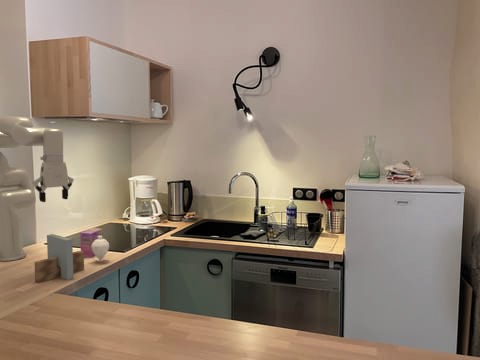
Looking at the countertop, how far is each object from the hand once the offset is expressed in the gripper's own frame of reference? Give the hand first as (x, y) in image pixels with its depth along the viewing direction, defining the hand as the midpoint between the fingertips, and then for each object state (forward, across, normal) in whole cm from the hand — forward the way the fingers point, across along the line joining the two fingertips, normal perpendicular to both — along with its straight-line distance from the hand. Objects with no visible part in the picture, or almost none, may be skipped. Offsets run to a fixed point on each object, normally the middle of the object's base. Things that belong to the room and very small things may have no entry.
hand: (54, 200), depth 175 cm
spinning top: (+30, +19, -5) cm, 36 cm away
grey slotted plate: (+30, -2, -8) cm, 31 cm away
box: (+31, +24, +8) cm, 39 cm away
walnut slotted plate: (+30, -2, -8) cm, 31 cm away
